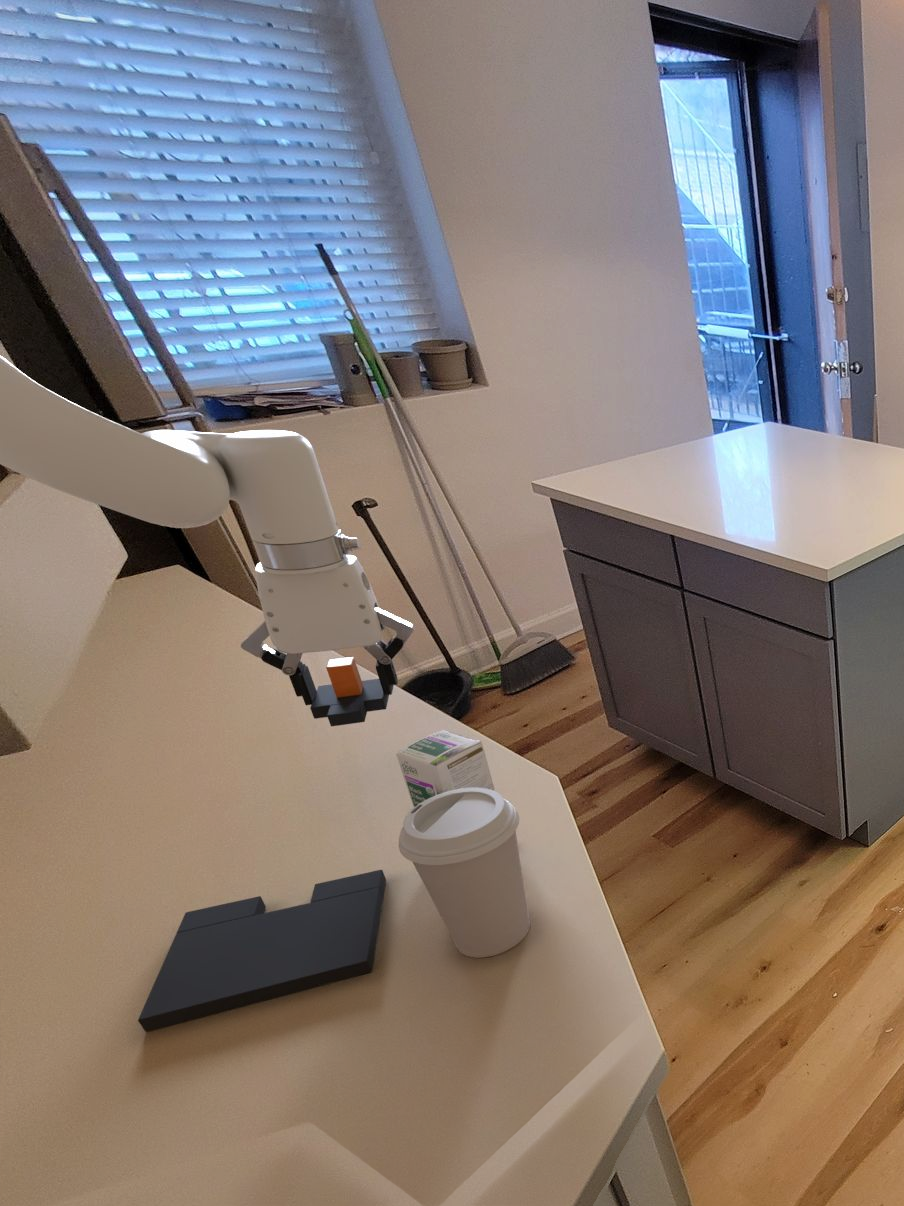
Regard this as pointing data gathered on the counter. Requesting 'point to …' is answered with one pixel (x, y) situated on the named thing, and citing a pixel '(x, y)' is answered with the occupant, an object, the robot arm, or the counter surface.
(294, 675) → the robot arm
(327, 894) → the notch pad
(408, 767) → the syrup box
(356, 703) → the pad
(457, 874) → the coffee cup
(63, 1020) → the counter surface
